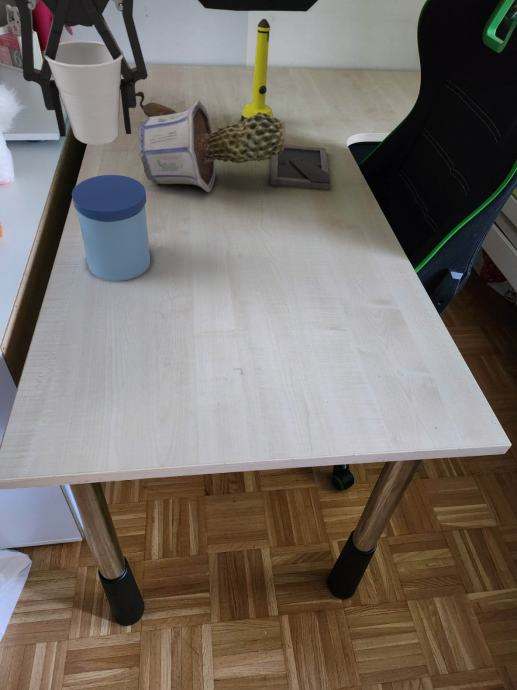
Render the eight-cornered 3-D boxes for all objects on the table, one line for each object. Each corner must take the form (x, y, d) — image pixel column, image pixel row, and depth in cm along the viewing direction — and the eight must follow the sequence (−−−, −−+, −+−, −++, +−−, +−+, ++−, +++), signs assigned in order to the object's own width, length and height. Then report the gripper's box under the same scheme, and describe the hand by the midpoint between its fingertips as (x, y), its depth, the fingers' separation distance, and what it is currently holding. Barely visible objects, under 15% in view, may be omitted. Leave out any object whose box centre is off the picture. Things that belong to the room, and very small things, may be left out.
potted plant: (122, 130, 99) (277, 106, 94) (144, 99, 112) (281, 76, 107) (150, 212, 110) (290, 195, 105) (167, 176, 123) (291, 158, 119)
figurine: (127, 130, 131) (123, 94, 125) (128, 122, 134) (124, 87, 128) (182, 132, 133) (181, 97, 127) (182, 124, 136) (181, 90, 130)
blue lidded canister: (87, 285, 89) (72, 214, 79) (85, 246, 96) (71, 176, 86) (155, 278, 91) (149, 208, 81) (148, 241, 99) (141, 172, 89)
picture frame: (328, 190, 117) (324, 154, 130) (330, 182, 116) (326, 146, 128) (270, 185, 117) (272, 149, 130) (271, 177, 116) (272, 141, 128)
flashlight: (238, 14, 122) (256, 25, 117) (271, 12, 125) (290, 23, 120) (234, 120, 140) (249, 134, 135) (263, 116, 143) (279, 129, 138)
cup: (99, 159, 70) (85, 71, 62) (45, 138, 73) (25, 52, 65) (146, 134, 76) (139, 52, 68) (94, 116, 79) (82, 35, 71)
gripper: (156, -72, 62) (166, 117, 78) (-35, -82, 58) (18, 122, 74) (163, -61, 57) (173, 139, 74) (-45, -70, 53) (15, 146, 69)
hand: (95, 131), depth 74 cm, fingers closed on cup, 8 cm apart
